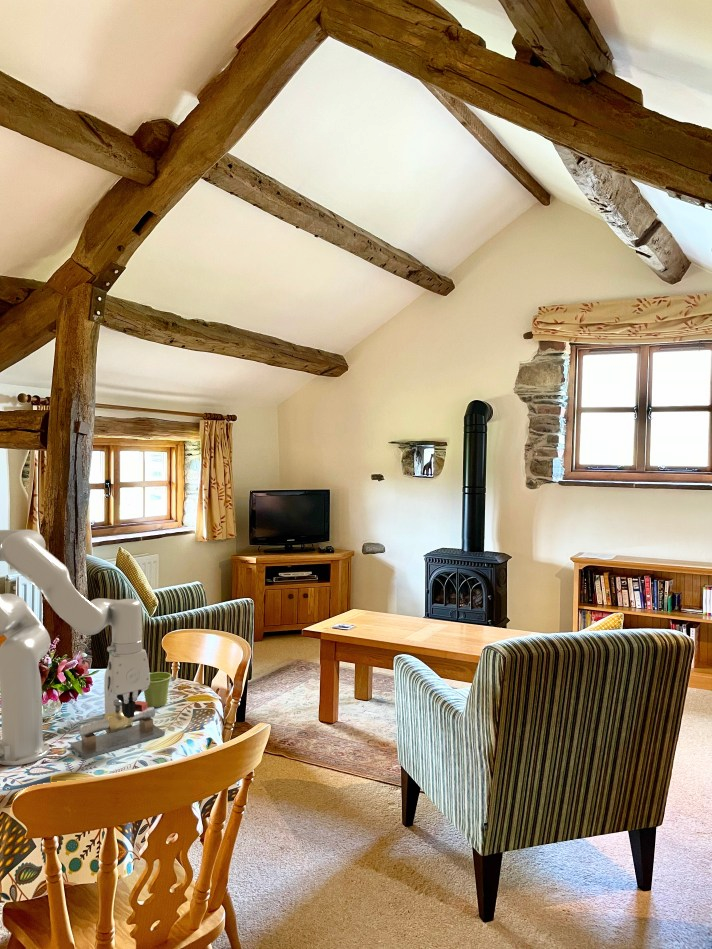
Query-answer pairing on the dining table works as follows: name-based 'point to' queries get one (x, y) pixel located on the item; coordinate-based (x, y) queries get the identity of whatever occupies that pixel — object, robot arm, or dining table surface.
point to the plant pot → (157, 689)
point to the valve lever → (138, 705)
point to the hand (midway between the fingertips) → (128, 716)
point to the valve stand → (116, 732)
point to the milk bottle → (108, 702)
